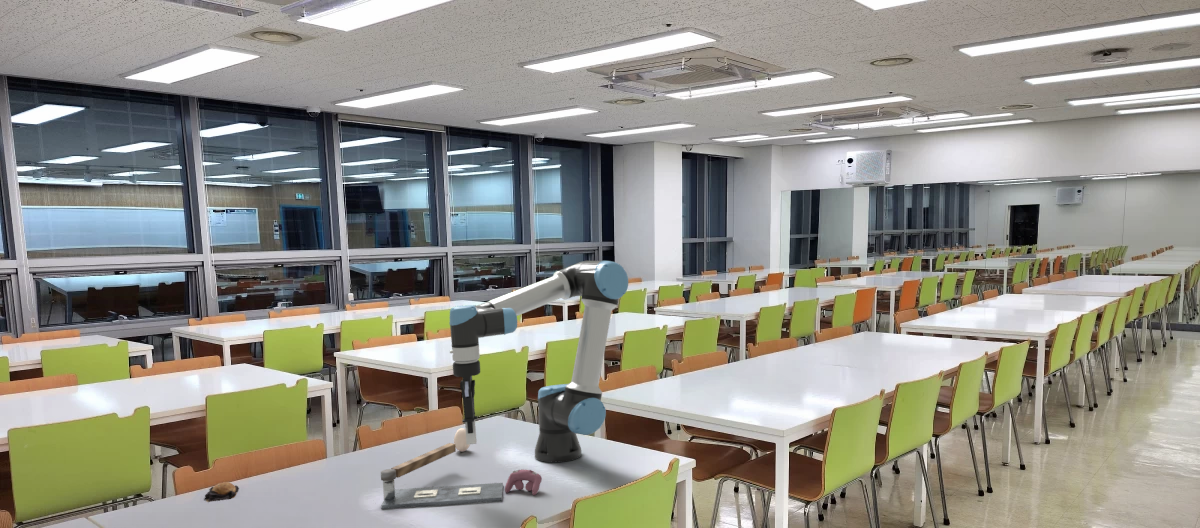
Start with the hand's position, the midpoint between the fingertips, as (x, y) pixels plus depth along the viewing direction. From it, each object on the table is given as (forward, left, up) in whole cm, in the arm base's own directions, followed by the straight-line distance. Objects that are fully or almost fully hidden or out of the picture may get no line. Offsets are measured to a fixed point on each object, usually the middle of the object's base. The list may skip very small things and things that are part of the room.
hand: (471, 443), depth 205 cm
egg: (+6, -41, -14) cm, 43 cm away
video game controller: (-14, +2, -14) cm, 20 cm away
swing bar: (+16, -9, -8) cm, 20 cm away
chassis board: (+8, +3, -14) cm, 16 cm away
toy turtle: (+73, -12, -15) cm, 75 cm away
